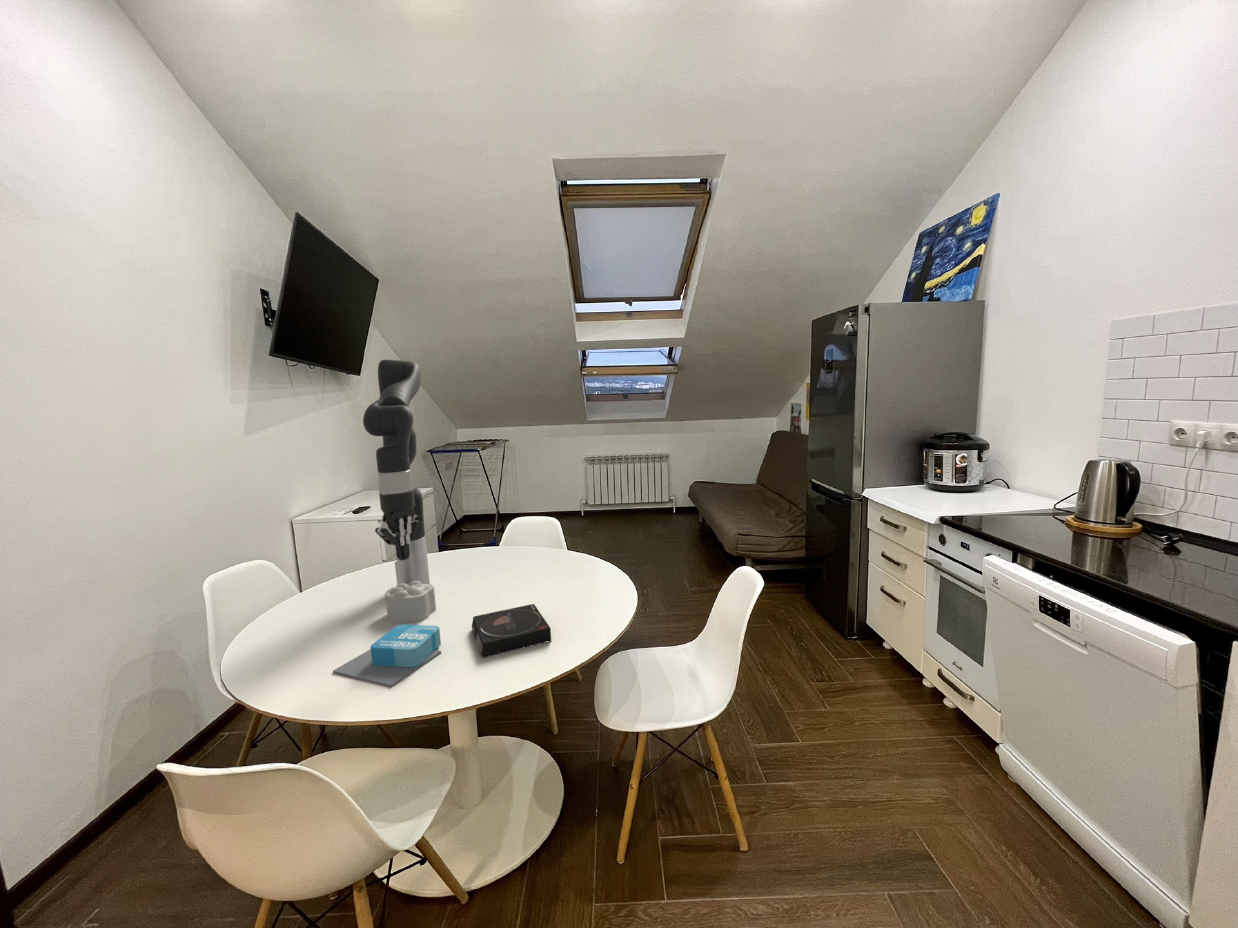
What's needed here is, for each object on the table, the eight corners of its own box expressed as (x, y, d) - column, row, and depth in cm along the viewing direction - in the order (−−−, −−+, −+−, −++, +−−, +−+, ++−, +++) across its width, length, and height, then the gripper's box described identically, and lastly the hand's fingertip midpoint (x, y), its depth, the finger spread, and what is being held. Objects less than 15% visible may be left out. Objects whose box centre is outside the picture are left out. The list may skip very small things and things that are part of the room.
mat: (333, 672, 113) (332, 670, 113) (386, 641, 127) (386, 640, 126) (391, 687, 106) (391, 685, 106) (441, 653, 120) (441, 651, 120)
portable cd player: (472, 631, 131) (470, 617, 131) (534, 617, 138) (533, 603, 138) (481, 660, 117) (480, 644, 116) (551, 642, 123) (550, 627, 123)
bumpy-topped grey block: (422, 622, 137) (419, 593, 136) (378, 622, 139) (375, 592, 138) (440, 606, 147) (437, 579, 146) (399, 606, 149) (396, 578, 148)
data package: (441, 625, 123) (414, 649, 112) (443, 642, 124) (416, 668, 112) (398, 623, 125) (367, 647, 114) (400, 640, 126) (369, 665, 114)
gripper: (405, 484, 125) (412, 549, 128) (361, 494, 113) (369, 566, 116) (428, 485, 122) (435, 552, 125) (385, 495, 110) (393, 570, 113)
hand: (403, 559), depth 120 cm, fingers closed
